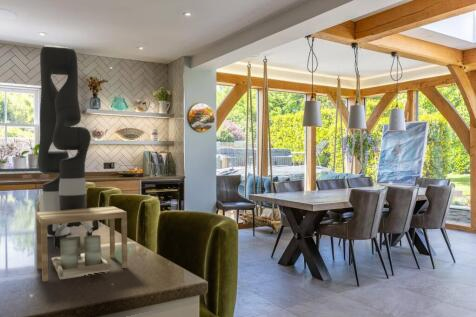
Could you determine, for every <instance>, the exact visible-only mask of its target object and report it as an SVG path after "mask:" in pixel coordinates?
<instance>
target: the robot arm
mask: <svg viewBox="0 0 476 317" xmlns="http://www.w3.org/2000/svg"><path fill="white" fill-rule="evenodd" d="M39 58H40V59H39V62H40V63H39V66H40V67H39V68H40V88H41V89H40V90H41V91H40V106H39V146H38V155H37V168H38V171H39V172H40V173H41V174H58V176H57V177H56V178H54V179H53V180H51V181H48V182H45V183H43V185H42V194H43V212H46V211H59V210H72V209H85V208H87V185H86V184H87V183H86V178H85V177H86V167H85V166H86V158H87V154H88V151H89V147H90V144H91V138H92V137H91V133H90V131H89V129H88V128H86V127H84V126H78V125H79V124H80V122H81V120H82V115H81V110H80V104H79V103H80V101H79V88H78V87H79V75H78V74H79V71H78V69H79V68H78V66H79V64H78V56H77V52H76V50H75V49H74V48H72V47H68V46H67V47H66V46H59V45H58V46H57V45H43V46H42V47H41V50H40V57H39ZM52 75H59V76H62V75H63V76H67V79H66V81H65V82H64V83H63V85H62V86H61V87H60V89H59V90H58V88H57V87H56V85H55V83H54V81H53V79H52ZM52 144H53V147H55V149H50V148H51V145H52ZM68 151H77V152H76V154H75V155H74V156H70V157H69V152H68ZM91 223H92V226H89V224H88V223H87V221H82V222H72V223H61V224H50V225H47V238H48V237H53V246H54V247H55V248H56V249H57V250H59V249H60V250H61V246H60V240H61V239H60V238H61V237H63V236H68V235H69V234H70V228H72V227H80V226H82V227H83V228H84V229H85V230H86V232H85V237H86V236H91V235H93V232H95V231H98V230H99V220H93V221H92V222H91Z"/></svg>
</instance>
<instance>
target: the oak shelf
mask: <svg viewBox="0 0 476 317" xmlns="http://www.w3.org/2000/svg"><path fill="white" fill-rule="evenodd" d="M127 213H128V212H127V211H125V210H123V209H121V208H118V207H116V206H100V207H99V206H97V207H86V208H85V209H72V210H59V211H46V212H37V211H36V212H35V228H36V233H35V234H36V235H35V237H36V239H35V240H36V269H37V270H41V281H42V282H43V283H45V282H49V267H48V266H49V264H48V263H49V260H48V257H49V254H48V253H49V252H48V248H49V247H48V237H47V225H50V224H61V223H72V222H82V221H85V222H91V221H93V220H98V221H103V220H109V221H108V222H109V224H108V225H109V258H110V259H111V258H112V259H116V241H115V240H116V234H115V233H116V231H115V228H116V227H115V223H116V222H115V219H120V221H121V222H120V224H121V227H120V230H121V233H120V235H121V269H123V268H126V269H128V268H129V267H128V214H127Z"/></svg>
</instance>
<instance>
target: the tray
mask: <svg viewBox="0 0 476 317" xmlns="http://www.w3.org/2000/svg"><path fill="white" fill-rule="evenodd" d="M65 236H66V237H65V238H61V239H60V256H54V257H51V262H52V263H53V267H54V269H55V271H56V274H57V276H58V278H59V280H65V279H72V278H80V277H83V276H84V275H86V276H89V275H88V274H92V275H95V274H94V273H99V272H105V271H109V272H110V263H109V262H108V261H107V260H106V259H105V258H104V257H103V256H102V247H101V245H102V244H101V242H102V240H101V235H99V234H98V235H97V234H96V235H95V234H94V235H93V234H92V235H91V236H86V235H85V236H84V238H83V243H84V244H83V245H84V252H83V253H82V252H81V251H82V250H81V249H82V248H81V236H80V234H72V235H65ZM105 273H106V272H105ZM99 274H100V273H99ZM84 277H85V276H84Z"/></svg>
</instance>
